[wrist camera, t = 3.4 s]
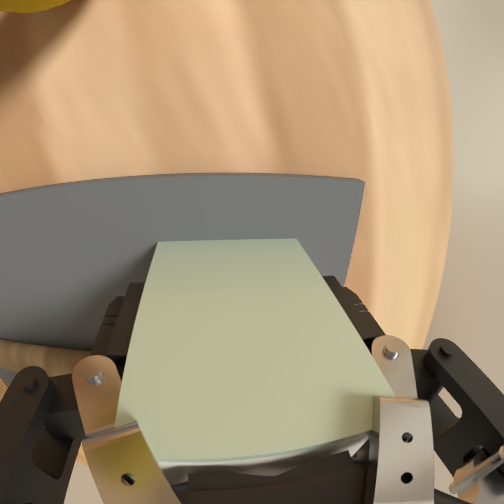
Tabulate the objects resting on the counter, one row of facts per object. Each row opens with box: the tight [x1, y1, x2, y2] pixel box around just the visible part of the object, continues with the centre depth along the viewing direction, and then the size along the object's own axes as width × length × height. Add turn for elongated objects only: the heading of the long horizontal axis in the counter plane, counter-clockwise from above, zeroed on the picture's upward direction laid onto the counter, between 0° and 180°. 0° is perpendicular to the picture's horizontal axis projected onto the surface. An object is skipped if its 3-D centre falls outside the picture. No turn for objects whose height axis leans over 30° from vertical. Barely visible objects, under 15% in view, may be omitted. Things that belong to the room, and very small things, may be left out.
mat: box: [0, 173, 365, 387], centre depth 14 cm, size 16×26×1 cm, turn 87°
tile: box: [114, 239, 396, 485], centre depth 9 cm, size 2×6×9 cm, turn 87°
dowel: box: [0, 339, 92, 377], centre depth 13 cm, size 2×12×2 cm, turn 87°
